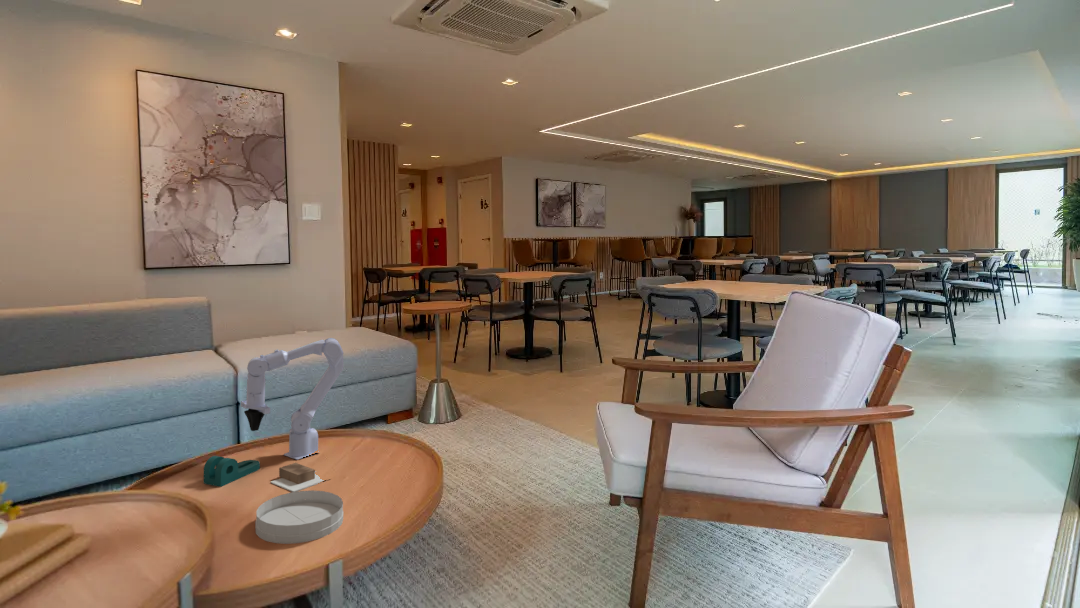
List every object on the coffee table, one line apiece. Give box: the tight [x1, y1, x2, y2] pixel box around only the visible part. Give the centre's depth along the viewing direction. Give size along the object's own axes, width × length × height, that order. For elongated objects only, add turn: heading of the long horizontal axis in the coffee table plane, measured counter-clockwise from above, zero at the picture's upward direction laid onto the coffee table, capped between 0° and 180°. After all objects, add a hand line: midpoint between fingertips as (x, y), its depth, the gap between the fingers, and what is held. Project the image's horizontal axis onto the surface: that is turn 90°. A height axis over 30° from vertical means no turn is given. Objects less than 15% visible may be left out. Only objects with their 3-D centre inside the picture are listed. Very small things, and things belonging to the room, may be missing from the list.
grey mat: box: [270, 474, 324, 493], centre depth 181 cm, size 14×12×1 cm
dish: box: [254, 490, 345, 545], centre depth 153 cm, size 22×22×5 cm
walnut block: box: [278, 462, 316, 484], centre depth 182 cm, size 6×3×10 cm
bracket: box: [203, 455, 261, 488], centre depth 183 cm, size 18×7×8 cm, turn 164°
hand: (254, 430), depth 197 cm, fingers closed
